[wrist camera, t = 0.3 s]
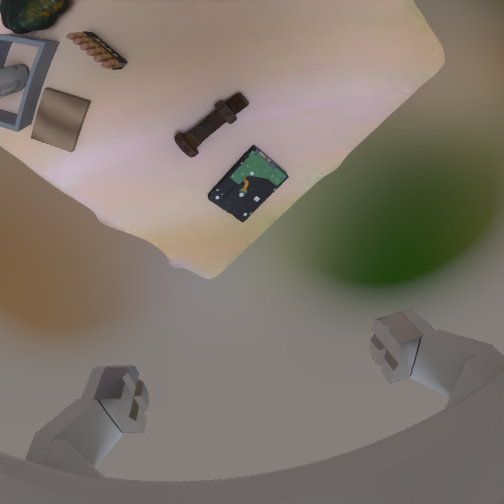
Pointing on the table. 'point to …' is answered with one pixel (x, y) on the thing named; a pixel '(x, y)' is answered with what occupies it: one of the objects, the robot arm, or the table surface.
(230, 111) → the bolt
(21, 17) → the squash
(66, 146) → the walnut pad
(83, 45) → the ammunition clip
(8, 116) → the grey rectangular open frame
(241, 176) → the disk drive
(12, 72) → the energy drink can
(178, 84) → the table surface
